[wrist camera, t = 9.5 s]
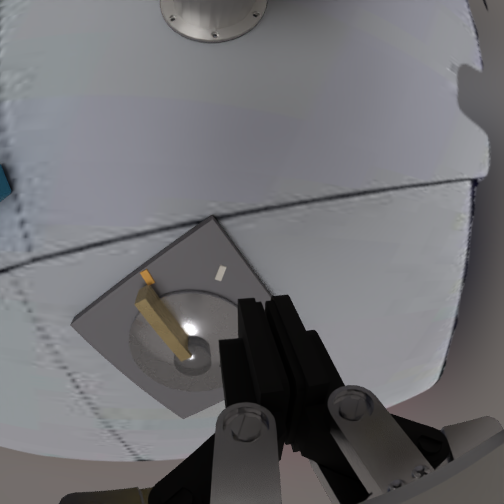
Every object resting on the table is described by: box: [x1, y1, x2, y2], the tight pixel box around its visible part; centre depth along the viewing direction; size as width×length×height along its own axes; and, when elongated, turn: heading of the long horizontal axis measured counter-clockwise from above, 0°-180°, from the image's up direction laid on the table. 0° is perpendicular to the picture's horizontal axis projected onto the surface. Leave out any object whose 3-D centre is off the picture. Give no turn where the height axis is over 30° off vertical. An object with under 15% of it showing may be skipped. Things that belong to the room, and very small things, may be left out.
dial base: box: [70, 215, 272, 419], centre depth 42 cm, size 26×26×2 cm
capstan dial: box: [129, 284, 238, 392], centre depth 39 cm, size 20×18×4 cm
